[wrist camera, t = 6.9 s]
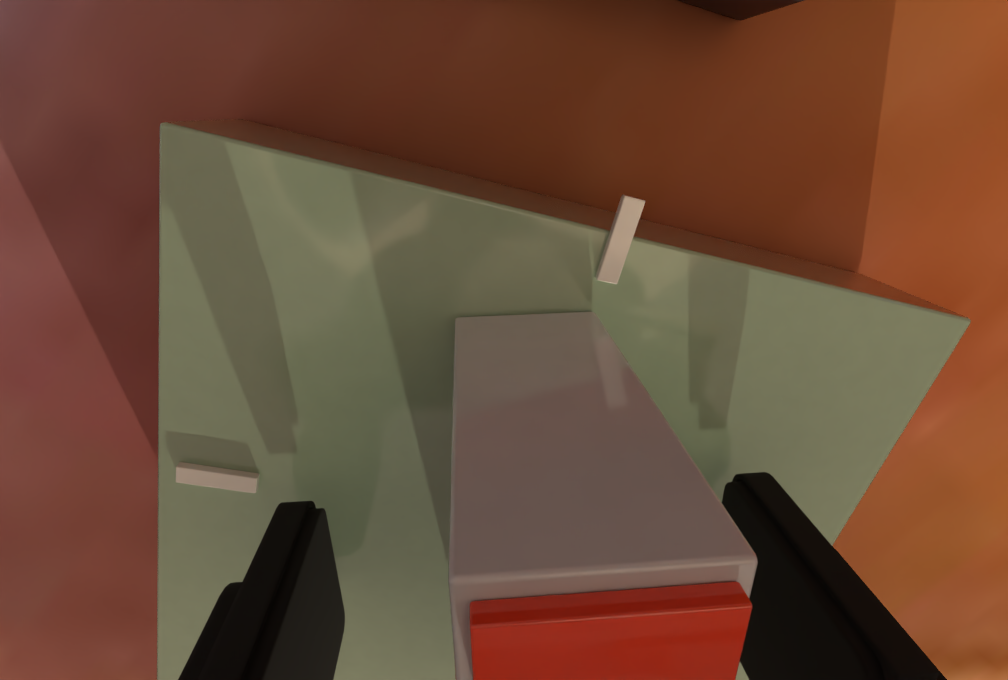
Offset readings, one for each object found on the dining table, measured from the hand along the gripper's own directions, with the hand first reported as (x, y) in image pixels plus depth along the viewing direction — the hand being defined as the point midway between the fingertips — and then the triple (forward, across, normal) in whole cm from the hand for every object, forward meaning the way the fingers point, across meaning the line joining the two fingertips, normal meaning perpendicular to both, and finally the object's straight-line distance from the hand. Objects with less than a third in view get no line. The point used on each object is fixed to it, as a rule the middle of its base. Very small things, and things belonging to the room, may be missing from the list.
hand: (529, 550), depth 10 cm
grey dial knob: (+1, 0, 0) cm, 1 cm away
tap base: (+4, 0, 0) cm, 4 cm away
